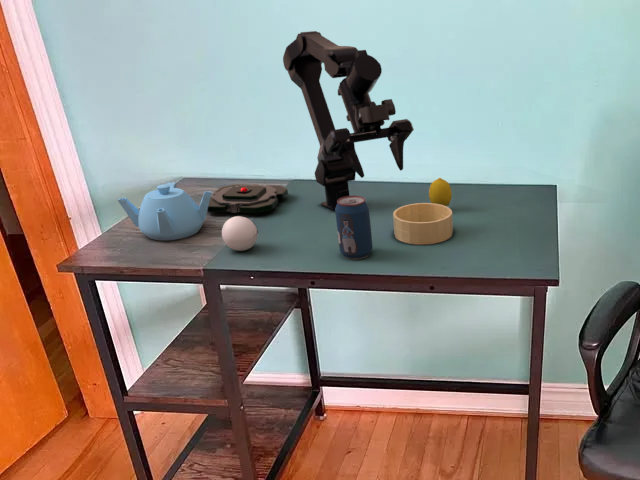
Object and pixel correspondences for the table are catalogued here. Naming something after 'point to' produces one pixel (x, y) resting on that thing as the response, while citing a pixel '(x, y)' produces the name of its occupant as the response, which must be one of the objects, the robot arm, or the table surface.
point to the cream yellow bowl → (423, 223)
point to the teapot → (168, 213)
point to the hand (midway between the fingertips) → (382, 173)
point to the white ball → (239, 233)
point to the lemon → (440, 192)
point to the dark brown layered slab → (246, 198)
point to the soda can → (353, 227)
